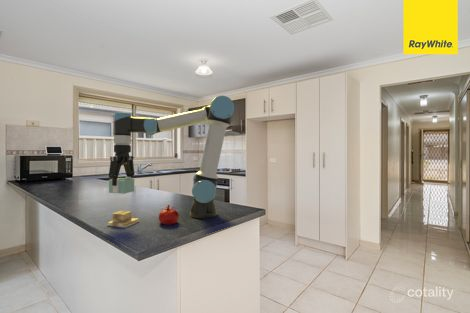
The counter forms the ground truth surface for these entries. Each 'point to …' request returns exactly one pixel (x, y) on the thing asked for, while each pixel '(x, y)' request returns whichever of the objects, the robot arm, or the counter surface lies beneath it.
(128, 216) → the plate
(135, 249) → the counter surface
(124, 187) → the cup block
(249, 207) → the counter surface
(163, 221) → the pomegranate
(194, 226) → the counter surface
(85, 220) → the counter surface
